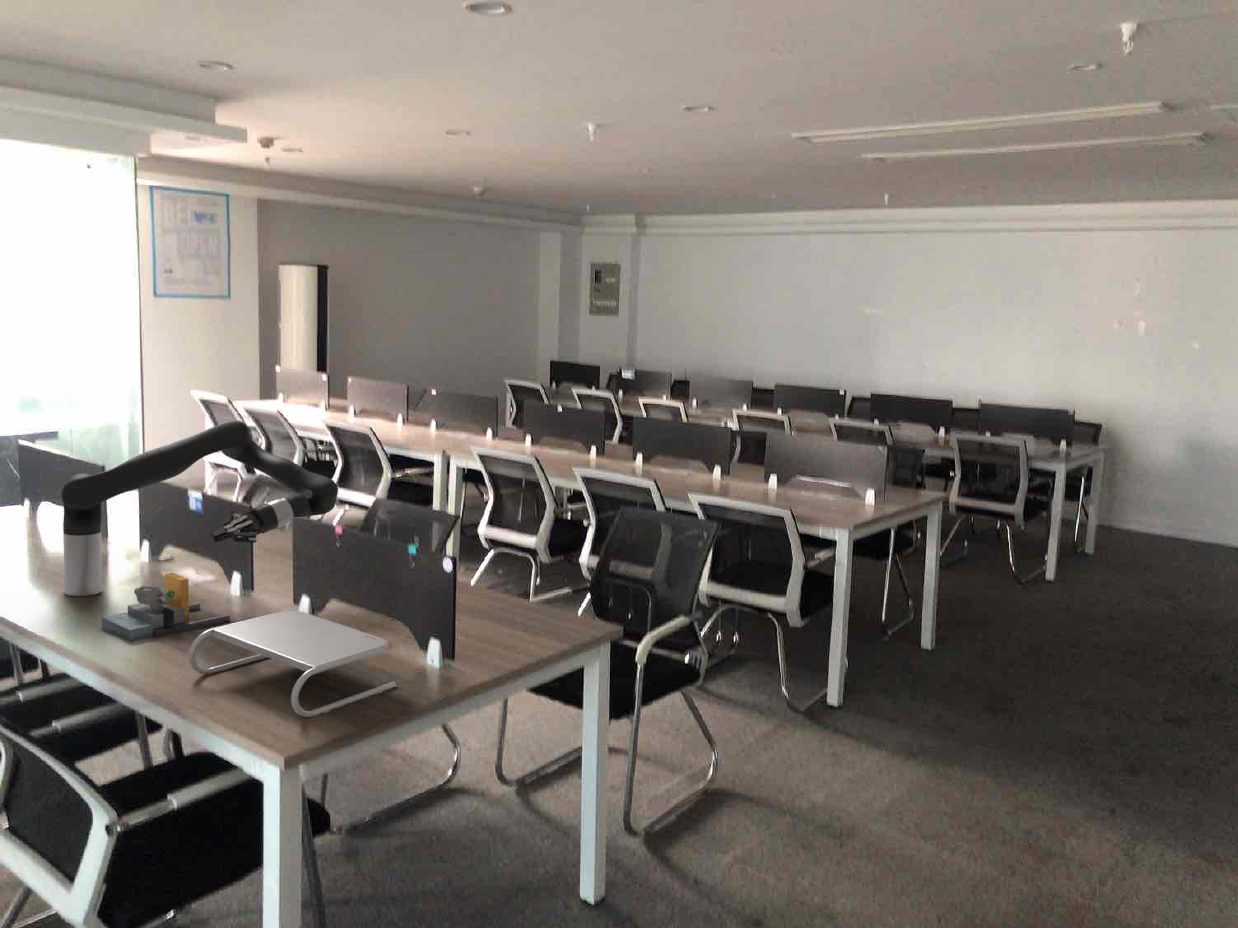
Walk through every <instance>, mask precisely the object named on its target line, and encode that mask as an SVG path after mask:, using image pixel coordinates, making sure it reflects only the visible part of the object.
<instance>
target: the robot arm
mask: <svg viewBox="0 0 1238 928" xmlns="http://www.w3.org/2000/svg"><path fill="white" fill-rule="evenodd" d="M218 452H221V453H223V455H224V456H226V457H227V458H229V459H232V460H234V461H236V462H238V463H240V464H244V465H246V466H249V467H251V468H252V469H255V470H257V471H259V472H261V473H263V474H265V475H267V476H268V477H270V478H271V479H273V480H275V481H277V482H278V483H279V484H282V486H284V487H286V488H287V489H289V490H290V491H292V492H295V493H293V494H291V495H286V496H285V497H282V498H279V499H275V500H271V501H268V502H266V503H263V504H261V505H258V506H255V507H253V508H251V509H250V510H251V512H249V511H248V512H242V513H240V514H239V513H236V512H235V510H230V511H229V512H228V514H227V515H226V517H225V518H224V520H223V521H222V528H220V529H217V530H216V531H215V530H214V531H212V533H211V534H210V539H211V540H212V541H213V542H214V543H219V542H222V541H224V540H227V539H229V540H232V541H233V542H234V543H236V542H237V543H253V544H254V543H257V542H258V538H257V536H258V535H260V534H262V535H264V534H266V533H268V532H271V531H274V530H276V529H279V528H280V527H281V528H282V527H285V526H286V525H289V523H292V522H291V519H293V518H294V517H302V518H304V517H313V516H315V517H316V516H321V515H325V514H328V513H330V512H331V511H332V510H333V509H334V508H335V506H336V503H337V499H338V498H337V497H338V494H339V487H338V485H337V483H336V482H335V481H334V480H333V479H332V478H330V477H328V476H325V475H322V474H318V473H316V472H311V471H308V470H307V469H305V468H304V467H302V466H300V465H299V464H297V463H296V462H294V461H292V460H290V459H288V458H285V457H282V456H279V455H276V454H272V453H270V452H269V451H267V450H265V449H264V448H262V447H261V446H260V445H258V443H257V442H255V440H253V437H252V435H251V432H250V430H249V427H248V426H247V425H246V423H244V422H243V421H241V420H238V419H230V420H226V421H223V422H221V423H218V424H216V425H214V426H212V427H209V428H208V429H205V430H204V431H201V432H199V433H197V434H194V435H192V436H189V437H185V438H184V439H180V440H177V441H175V442H172V443H169V444H166V445H163V446H159V447H156V448H153V449H150V450H148V451H145V452H143V453H141V454H138V455H136V456H134V457H132V458H130V459H128V460H126V461H124V462H123V463H121V464H118V465H117V466H115V467H113V468H110V469H107V470H105V471H101V472H98V473H95V474H89V473H76V474H74V475H72V476H70V477H69V478H67V480H66V481H65V483H64V485H63V487H62V489H61V492H60V493H61V501H62V502H63V523H62V524H63V525H62V528H63V529H62V531H63V533H62V534H63V570H64V581H63V583H64V594H65V596H70V597H85V596H86V597H87V596H93V595H97V594H99V593H101V592H102V591H103V579H102V578H103V571H102V569H103V564H102V563H103V561H102V503H104V502H105V501H108V500H110V499H112V498H114V497H117V496H119V495H121V494H124V493H127V492H132V491H134V490H135V491H136V490H139V489H142V488H145V487H148V486H152V485H155V484H158V483H161V482H164V481H167V480H170V479H172V478H174V477H177V476H180V475H181V474H182V473H184V472H186V470H188V469H189V468H191V466H193V465H194V464H195V463H196V462H197V461H199V460H201V459H203V458H204V457H207V456H209V455H212V454H215V453H218ZM307 490H308V491H311V496H308V497H307V496H306V495H305V494H303V493H304V492H305V491H307Z"/></svg>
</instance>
